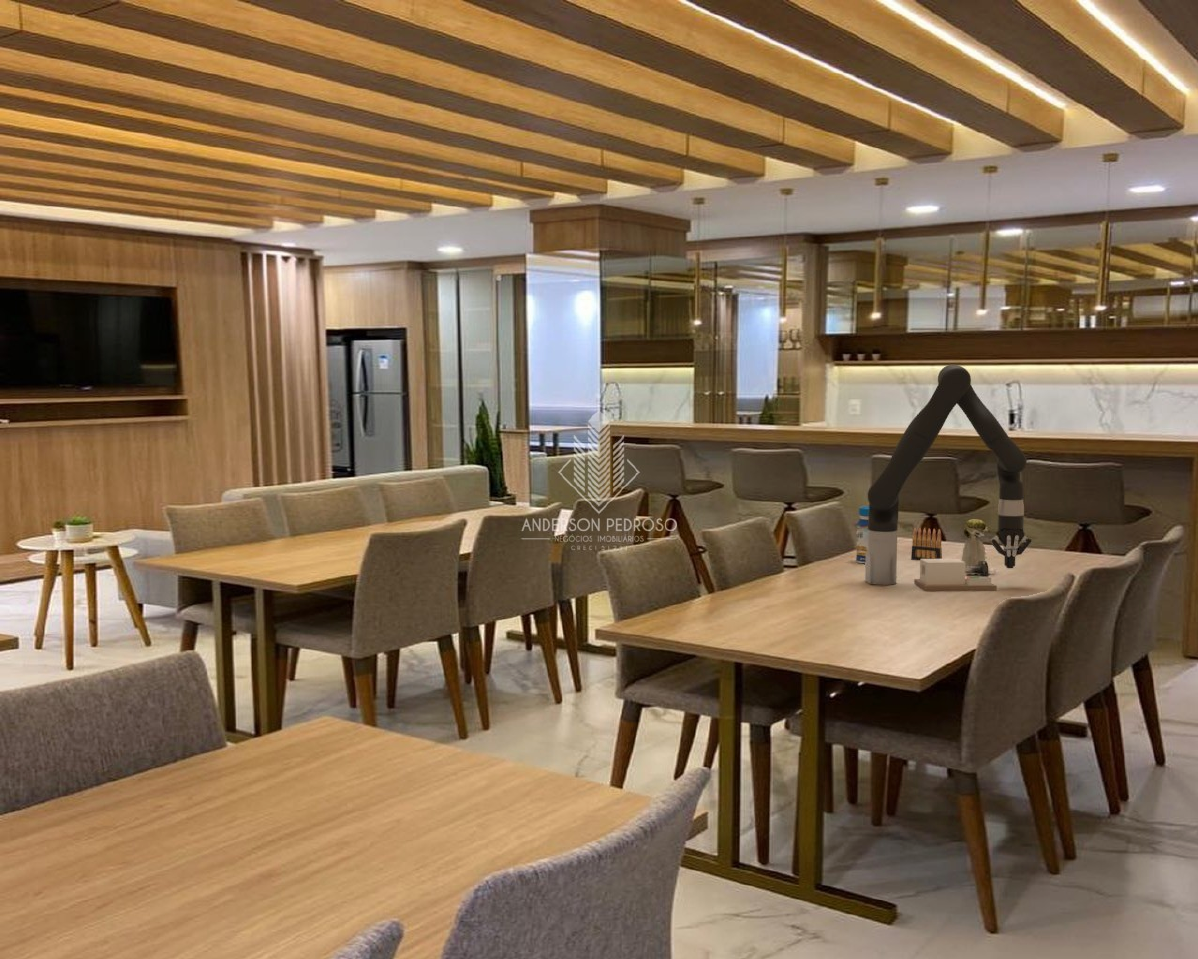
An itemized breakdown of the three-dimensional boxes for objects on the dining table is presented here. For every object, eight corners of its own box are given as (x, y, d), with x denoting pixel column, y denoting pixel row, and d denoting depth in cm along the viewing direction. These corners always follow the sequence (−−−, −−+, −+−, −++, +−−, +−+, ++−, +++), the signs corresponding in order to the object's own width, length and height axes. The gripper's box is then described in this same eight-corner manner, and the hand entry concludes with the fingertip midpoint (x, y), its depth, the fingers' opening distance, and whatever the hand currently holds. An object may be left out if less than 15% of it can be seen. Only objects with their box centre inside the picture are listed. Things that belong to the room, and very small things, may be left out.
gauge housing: (925, 591, 326) (926, 564, 325) (914, 583, 338) (914, 557, 337) (996, 590, 326) (997, 563, 325) (982, 583, 338) (983, 557, 337)
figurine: (948, 573, 356) (949, 519, 354) (965, 567, 365) (967, 515, 363) (982, 577, 347) (983, 522, 346) (999, 572, 357) (1000, 518, 355)
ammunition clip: (911, 559, 383) (911, 527, 382) (912, 559, 385) (913, 526, 383) (940, 562, 377) (941, 529, 376) (941, 561, 378) (942, 528, 377)
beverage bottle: (880, 564, 373) (881, 508, 371) (856, 564, 375) (857, 508, 373) (879, 560, 381) (880, 506, 379) (855, 560, 383) (856, 505, 381)
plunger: (947, 581, 326) (948, 564, 326) (939, 577, 335) (939, 559, 334) (991, 581, 326) (991, 563, 326) (981, 576, 334) (982, 559, 334)
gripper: (994, 515, 326) (993, 570, 327) (1036, 514, 326) (1035, 569, 327) (985, 512, 333) (984, 566, 335) (1027, 511, 333) (1026, 565, 335)
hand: (1009, 567), depth 331 cm, fingers closed
